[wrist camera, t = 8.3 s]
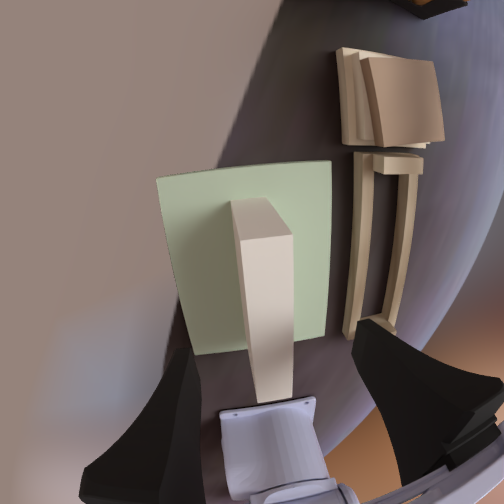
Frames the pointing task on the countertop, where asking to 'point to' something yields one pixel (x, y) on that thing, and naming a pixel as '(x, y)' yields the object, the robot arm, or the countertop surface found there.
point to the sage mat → (224, 253)
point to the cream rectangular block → (266, 294)
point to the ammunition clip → (430, 6)
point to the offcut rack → (384, 159)
